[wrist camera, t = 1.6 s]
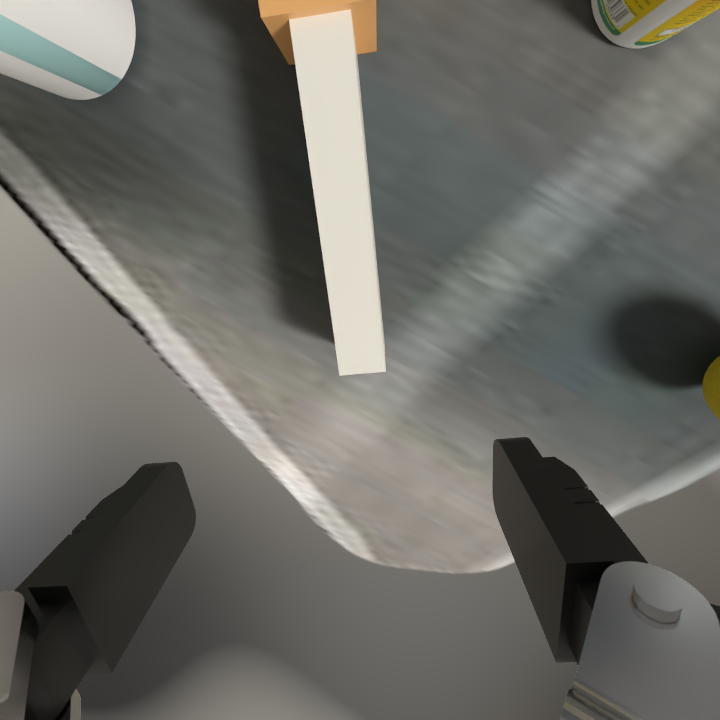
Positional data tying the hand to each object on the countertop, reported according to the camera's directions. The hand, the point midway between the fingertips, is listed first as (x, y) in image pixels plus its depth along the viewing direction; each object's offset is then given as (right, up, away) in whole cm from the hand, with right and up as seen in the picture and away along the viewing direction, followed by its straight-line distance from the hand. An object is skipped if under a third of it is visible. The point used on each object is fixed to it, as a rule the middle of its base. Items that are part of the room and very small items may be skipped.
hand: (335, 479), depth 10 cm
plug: (0, +13, +12) cm, 17 cm away
